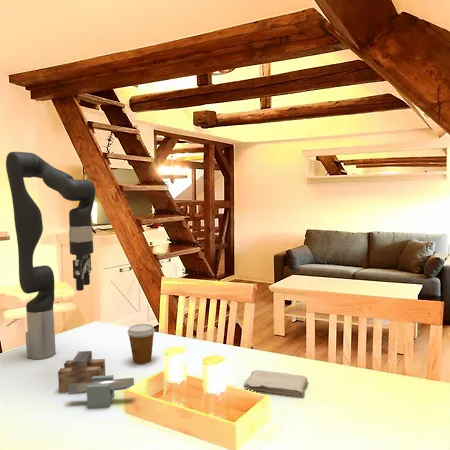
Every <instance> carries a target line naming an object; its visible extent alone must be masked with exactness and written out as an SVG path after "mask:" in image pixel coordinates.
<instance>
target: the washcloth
mask: <svg viewBox="0 0 450 450" xmlns="http://www.w3.org/2000/svg"><path fill="white" fill-rule="evenodd" d="M307 383H308V378H307V376H305V375H300V374H292V373H288V372H287V373H286V372H279V371H278V372H276V371H268V370H259V369H255V370H253V371H251V372H250V375H249V376H248V378H247V379H246V380H245V381H244V383H243V386H244V387H243V389H244V388H245V389H249V390H253V391H256V392H255V393H258V392H260V393H259V394H266V395H274V396H283V397H289V398H290V397H291V398H296V399H297V398H302V397H303V396H304V393H305V391H304V390H305V388H306V386H307ZM245 389H244V390H245ZM253 391H252V392H253Z"/></svg>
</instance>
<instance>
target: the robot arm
mask: <svg viewBox="0 0 450 450" xmlns="http://www.w3.org/2000/svg"><path fill="white" fill-rule="evenodd" d="M5 170H6V174H7V179H8V183H9V188H10V193H11V194H10V195H11V200H12V206H13V207H12V208H13V220H14V227H15V233H16V242H17V243H16V244H17V253H18V279H19V280H18V281H19V286H20V288H21V290H22V292H23V293H25V294H26V295H28V294H34V293H37V294H36V295H35V296H34V298H32V299H31V300H29V301H28V302H27V303H26V304H25V308H26V309H25V311H26V312H25V313H26V326H27V331H26V332H25V347H26V358H27V359H32V360H43V359H44V360H45V359H47V358H51V357H53V356H54V355H55V354H56V353H57V352H56V335H55V331H56V330H55V314H54V304H55V275H54V270H53V269H52V268H51V266H49V265H38V266H34V263H33V262H34V254H35V249H36V247H37V245H38V243H39V242H40V239H41V237H42V234H43V231H44V226H43V225H44V224H43V216H42V212H41V209H40V208H39V206H38V205H37V204H36V202H35V201H34V199H33V198H32V196H31V195H30V193H29V192H28V190H27V188H26V184H25V180H24V179H25V178H28V179H29V178H37V179H42V182H43V183H44V185H46V186H47V187H48V188H50V189H52V190H54V191H56V192H58V194H60V196H61V197H62V198H63V199H65V200H67V201H70V202H78V204H77V207H75V208H71V209H70V210H69V211H68V224H69V230H68V231H69V232H68V241H69V253H70V255H72V256H75V259H73V260H72V279H74V280H75V288H76V291H79V292H80V291H84V289H85V288H84V287H85V286H89V285H90V284H91V278H90V277H91V276H90V274H91V272H92V257H91V256H92V254H93V253H94V234H93V225H92V211H93V206H94V202H95V198H96V187H95V184H94V183H93V182H92V181H91V180H89V179H74V177H73V176H72V175H71V174H69V173H68V172H65V171H63V170H61V169H58V168H56V167H54V166H52V165H51V164H50V163H48V162H47V161H46V160H44V159H43V158H41V157H40V156H39V155H38V154H36V153H34V152H25V151H10V152H8V154H7V155H6V159H5Z"/></svg>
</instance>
